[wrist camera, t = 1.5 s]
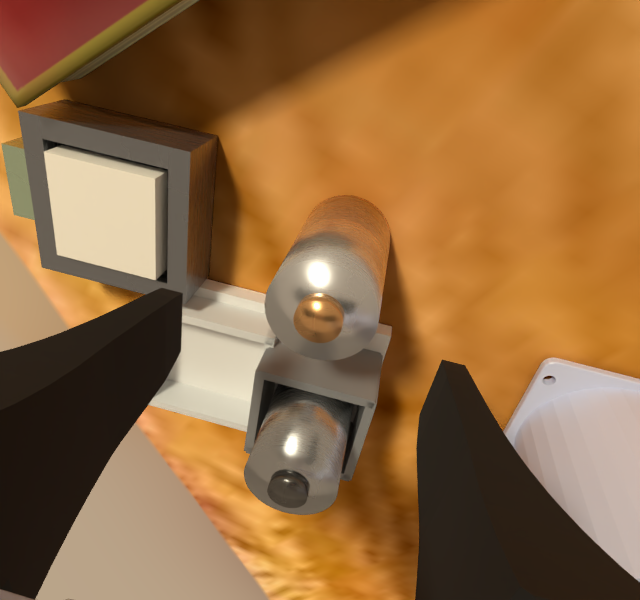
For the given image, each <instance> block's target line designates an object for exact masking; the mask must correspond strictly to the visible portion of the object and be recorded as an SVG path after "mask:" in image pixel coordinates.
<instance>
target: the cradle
mask: <svg viewBox="0 0 640 600" xmlns="http://www.w3.org/2000/svg"><path fill="white" fill-rule="evenodd" d="M18 112H19V119H20V126H21V132H22V137H21V138H18V139H14V140H11V141H8V142H5V143H2V149H3V155H4V160H5V166H6V172H7V177H8V183H9V189H10V195H11V200H12V206H13V212H14V215H17V216H21V217H25V218H29V219H33V220H35V225H36V231H37V238H38V244H39V251H40V258H41V264H42V268H46V269H50V270H54V271H58V272H62V273H65V274H69V275H73V276H77V277H81V278H85V279H89V280H92V281H96V282H100V283H104V284H108V285H112V286H115V287H119V288H123V289H127V290H131V291H135V292H138V293H142V294H148V293H151V292H153V291H155V290H157V289H160V288H165V289H169V290H173V291H177V292H181V293H183V302H182V304H184V305H186V303H187V302H188V301H189V300H190V298H191V297H192V296H193V295H194V294H195V292H196V291H197V290H198V289H199V287H200V286H201V285H202V284H203V283H204V281H205V280H206V279H207V278H208V276H209V268H210V252H211V237H212V221H213V205H214V189H215V173H216V157H217V141H218V136H217V135H213V134H209V133H204V132H200V131H196V130H192V129H187V128H183V127H179V126H175V125H171V124H166V123H162V122H158V121H154V120H149V119H145V118H141V117H137V116H132V115H128V114H124V113H120V112H115V111H111V110H107V109H103V108H99V107H94V106H90V105H86V104H82V103H77V102H73V101H69V100H61V101H56V102H52V103H48V104H44V105H40V106H36V107H32V108H28V109H24V110H20V111H18ZM60 145H63V146H67V147H72V148H76V149H80V150H84V151H88V152H92V153H96V154H100V155H105V156H109V157H113V158H117V159H121V160H125V161H129V162H133V163H138V164H142V165H146V166H150V167H154V168H158V169H162V170H166V171H168V212H167V270H166V271H165V272H164V273H163V274H162V275H161V276H160V277H159V278H158V279H156V280H152V279H149V278H145V277H141V276H137V275H133V274H129V273H125V272H122V271H118V270H114V269H110V268H106V267H102V266H98V265H94V264H91V263H87V262H83V261H79V260H75V259H71V258H67V257H63V256H60V255H57V250H56V242H55V234H54V227H53V219H52V211H51V204H50V196H49V188H48V180H47V173H46V165H45V157H44V151H47V150H50V149H52V148H55V147H58V146H60Z"/></svg>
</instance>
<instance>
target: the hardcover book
mask: <svg viewBox="0 0 640 600" xmlns="http://www.w3.org/2000/svg"><path fill="white" fill-rule="evenodd" d="M198 1H199V0H0V84H1V85H2V87H3V88H4V89H5V91H6V92H7V94H8V95H9V97H10V98H11V99H12V101H13V102H14V104H15V105H16V107H17V108H18V107H22V106H26V105H27V104H29V103H30V102H32V101H33V100H35V99H36V98H38V97H39V96H41V95H42V94H44V93H45V92H47V91H48V90H50V89H51V88H53V87H54V86H56V85H57V84H59V83H60V82H65V81H70V80H75V79H80V78H82V77H84V76H85V75H87V74H88V73H90V72H91V71H93V70H94V69H96V68H97V67H99V66H101V65H102V64H104V63H105V62H107V61H108V60H110V59H111V58H113V57H114V56H116V55H117V54H119V53H120V52H122V51H123V50H125V49H126V48H128V47H129V46H131V45H132V44H134V43H135V42H137V41H138V40H140V39H141V38H143V37H145V36H146V35H148V34H149V33H151V32H152V31H154V30H155V29H157V28H158V27H160V26H161V25H163V24H164V23H166V22H167V21H169V20H170V19H172V18H173V17H175V16H176V15H178V14H179V13H181V12H182V11H184V10H186V9H187V8H189V7H190V6H192V5H193V4H195V3H196V2H198Z"/></svg>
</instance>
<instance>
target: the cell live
mask: <svg viewBox="0 0 640 600" xmlns="http://www.w3.org/2000/svg"><path fill="white" fill-rule="evenodd" d="M390 241H391V235H390V229H389V225H388V222H387V220H386V218H385V217H384V215H383V214H382V212H381V211H380V210H379V209H378V208H377V207H376V206H374V205H373V204H372V203H370V202H369V201H367V200H364V199H362V198H359V197H356V196H348V195H343V196H336V197H332V198H329V199H327V200H325V201H323V202H322V203H320V204H319V205H318V206H316V207H315V208H314V210H313V211H312V212H311V214H310V215H309V217H308V219H307V221H306V222H305V224H304V226H303V228H302V229H301V231H300V233H299V235H298V236H297V238H296V240H295V242H294V244H293V245H292V247H291V249H290V251H289V252H288V254H287V256H286V258H285V259H284V261H283V263H282V265H281V267H280V268H279V270H278V272H277V274H276V275H275V277H274V279H273V281H272V282H271V284H270V286H269V288H268V290H267V293H266V297H265V314H266V318H267V321H268V324H269V326H270V328H271V330H272V331H273V333H274V334H275V335H276V337H277V338H278V339H279V340H280V341H281V342H282V343H283V344H284V345H286V346H287V347H288V348H290V349H291V350H293V351H295V352H296V353H298V354H301V355H303V356H305V357H309V358H312V359H317V360H339V359H344V358H347V357H350V356H352V355H354V354H356V353H358V352H360V351H361V350H362V349H364V348H365V347H366V346H367V345H368V344H369V343H370V341H371V340H372V338H373V337H374V335H375V333H376V330H377V327H378V322H379V315H380V309H381V302H382V295H383V289H384V282H385V275H386V269H387V262H388V255H389V248H390Z"/></svg>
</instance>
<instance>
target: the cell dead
mask: <svg viewBox="0 0 640 600" xmlns="http://www.w3.org/2000/svg"><path fill="white" fill-rule="evenodd" d="M353 405H354V404H353V403H349V402H345V401H342V400H338V399H334V398H330V397H327V396H323V395H319V394H315V393H312V392H308V391H304V390H301V389H297V388H293V387H289V386H286V385H282V384H278V385H277V388H276V390H275V393H274V395H273V398H272V400H271V403H270V405H269V408H268V410H267V413H266V415H265V418H264V420H263V423H262V426H261V428H260V431H259V433H258V436H257V438H256V441H255V443H254V446H253V448H252V451H251V453H250V456H249V458H248V461H247V463H246V466H245V470H244V478H245V481H246V484H247V486H248V488H249V489H250V491H251V492H252V493H253V494H254V495H255V496H256V497H257V498H258V499H259V500H260V501H262V502H263V503H265V504H266V505H268V506H270V507H272V508H274V509H277V510H279V511H282V512H286V513H290V514H298V515H308V514H315V513H318V512H321V511H323V510H325V509H327V508H328V507H330V506H331V505H332V504H333V503H334V501H335V499H336V497H337V493H338V488H339V482H340V477H341V471H342V466H343V460H344V455H345V449H346V444H347V438H348V433H349V427H350V422H351V416H352V411H353Z"/></svg>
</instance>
